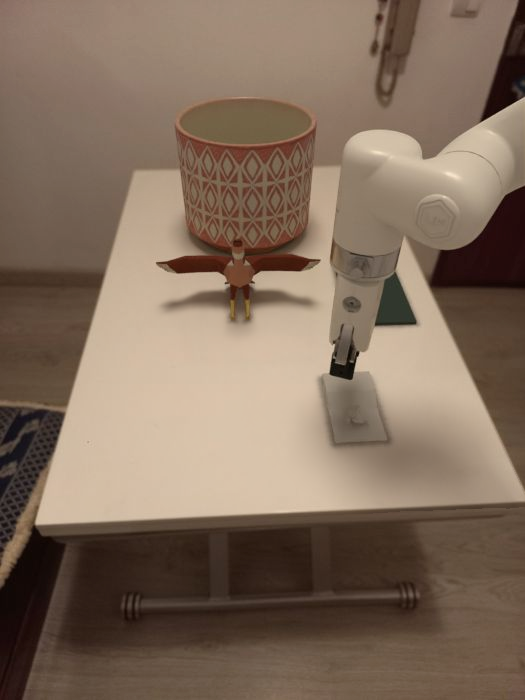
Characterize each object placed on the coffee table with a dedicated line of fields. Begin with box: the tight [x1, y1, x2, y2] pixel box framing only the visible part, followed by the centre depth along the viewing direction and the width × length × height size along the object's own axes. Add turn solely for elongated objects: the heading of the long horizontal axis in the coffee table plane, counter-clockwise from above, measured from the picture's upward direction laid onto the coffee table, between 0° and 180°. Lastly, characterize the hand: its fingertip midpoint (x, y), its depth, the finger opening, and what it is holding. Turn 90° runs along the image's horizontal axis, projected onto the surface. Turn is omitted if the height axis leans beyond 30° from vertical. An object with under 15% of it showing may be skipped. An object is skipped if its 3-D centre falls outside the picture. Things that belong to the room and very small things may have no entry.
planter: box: [174, 95, 318, 255], centre depth 97 cm, size 27×27×24 cm
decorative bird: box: [155, 239, 322, 320], centre depth 81 cm, size 28×18×15 cm, turn 92°
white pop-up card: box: [321, 370, 388, 444], centre depth 68 cm, size 7×12×2 cm, turn 4°
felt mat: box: [335, 271, 418, 326], centre depth 89 cm, size 12×18×1 cm, turn 3°
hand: (344, 364), depth 64 cm, fingers open, 3 cm apart
